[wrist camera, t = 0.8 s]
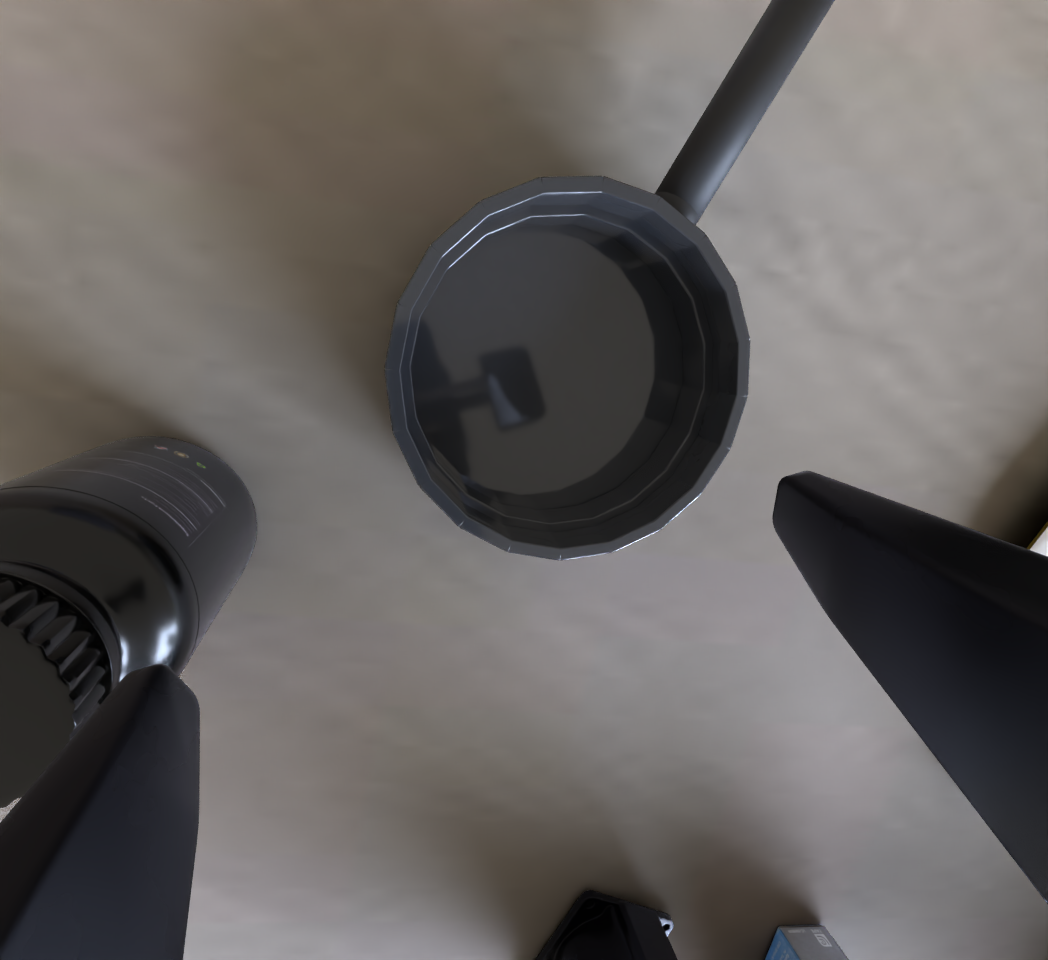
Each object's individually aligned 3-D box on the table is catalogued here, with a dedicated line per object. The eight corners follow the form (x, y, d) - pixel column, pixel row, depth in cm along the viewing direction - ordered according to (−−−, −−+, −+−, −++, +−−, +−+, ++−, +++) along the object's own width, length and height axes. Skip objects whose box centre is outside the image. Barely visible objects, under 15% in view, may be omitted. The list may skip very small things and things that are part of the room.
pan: (589, 569, 26) (623, 612, 22) (327, 430, 22) (312, 452, 18) (748, 323, 25) (814, 323, 21) (498, 127, 21) (522, 80, 17)
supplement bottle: (222, 623, 23) (57, 902, 12) (36, 562, 21) (-374, 828, 10) (291, 477, 22) (184, 630, 11) (105, 398, 20) (-259, 486, 9)
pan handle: (669, 249, 21) (692, 243, 20) (632, 220, 21) (653, 210, 19) (837, -24, 20) (878, -56, 18) (803, -63, 19) (841, -100, 18)
